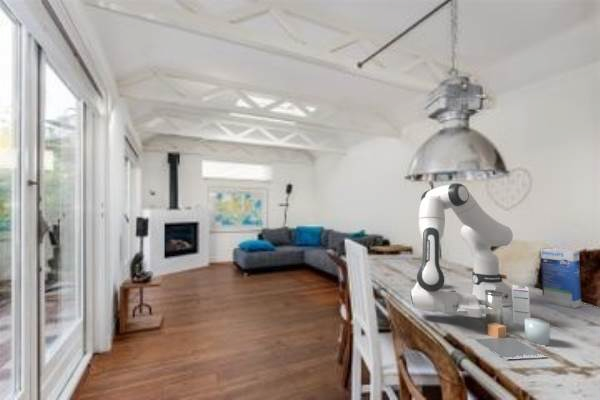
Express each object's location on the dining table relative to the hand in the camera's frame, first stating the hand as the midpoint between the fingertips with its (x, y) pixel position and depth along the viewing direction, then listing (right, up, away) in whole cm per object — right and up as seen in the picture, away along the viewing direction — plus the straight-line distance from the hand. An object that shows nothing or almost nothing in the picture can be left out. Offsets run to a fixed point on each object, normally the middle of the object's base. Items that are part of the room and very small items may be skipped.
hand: (492, 307), depth 121 cm
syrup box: (+15, -8, +5) cm, 18 cm away
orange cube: (-3, -8, -8) cm, 12 cm away
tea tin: (+1, -8, -1) cm, 8 cm away
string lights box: (+52, -9, +29) cm, 60 cm away
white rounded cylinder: (+8, -8, -13) cm, 17 cm away
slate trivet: (-6, -8, -18) cm, 21 cm away
